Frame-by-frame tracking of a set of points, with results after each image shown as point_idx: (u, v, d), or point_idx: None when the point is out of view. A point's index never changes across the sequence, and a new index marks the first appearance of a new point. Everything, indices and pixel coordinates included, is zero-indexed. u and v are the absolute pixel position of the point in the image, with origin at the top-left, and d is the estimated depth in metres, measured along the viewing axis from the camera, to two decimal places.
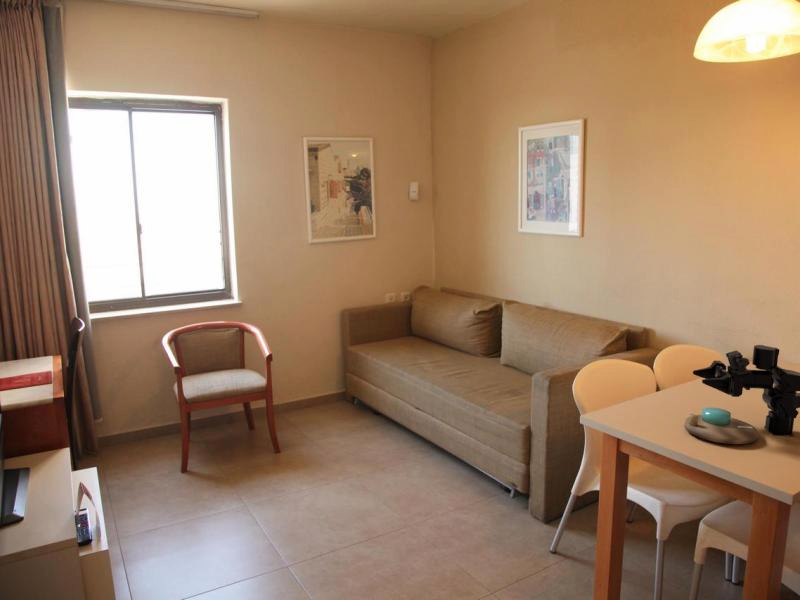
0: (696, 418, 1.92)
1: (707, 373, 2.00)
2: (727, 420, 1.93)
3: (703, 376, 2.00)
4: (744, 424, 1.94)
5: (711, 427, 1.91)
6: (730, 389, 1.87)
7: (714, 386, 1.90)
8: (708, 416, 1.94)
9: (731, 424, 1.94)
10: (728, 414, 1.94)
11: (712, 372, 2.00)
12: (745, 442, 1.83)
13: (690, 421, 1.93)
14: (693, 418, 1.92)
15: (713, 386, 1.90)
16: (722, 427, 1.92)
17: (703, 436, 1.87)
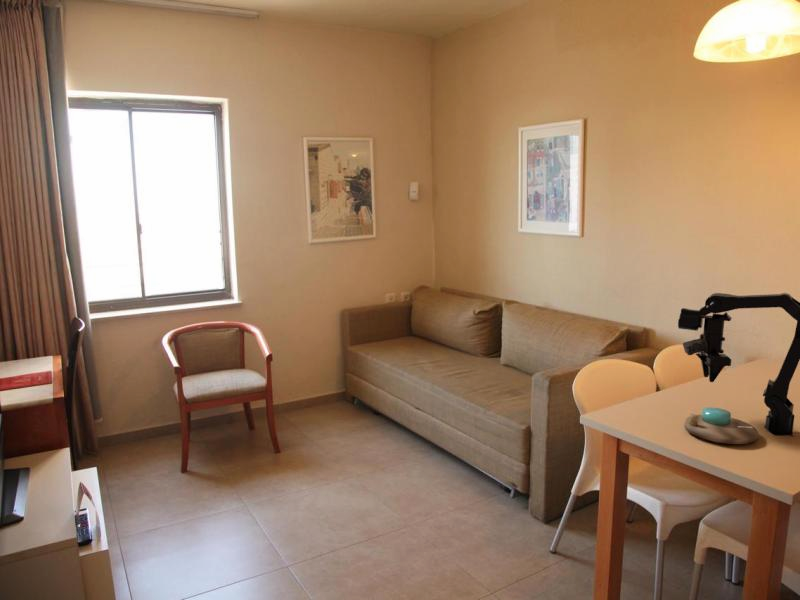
0: (696, 418, 1.92)
1: (707, 363, 2.06)
2: (727, 420, 1.93)
3: None
4: (744, 424, 1.94)
5: (711, 427, 1.91)
6: None
7: (717, 373, 2.00)
8: (708, 416, 1.94)
9: (731, 424, 1.94)
10: (728, 414, 1.94)
11: (706, 359, 2.06)
12: (745, 442, 1.83)
13: (690, 421, 1.93)
14: (693, 418, 1.92)
15: (717, 374, 2.00)
16: (722, 427, 1.92)
17: (703, 436, 1.87)
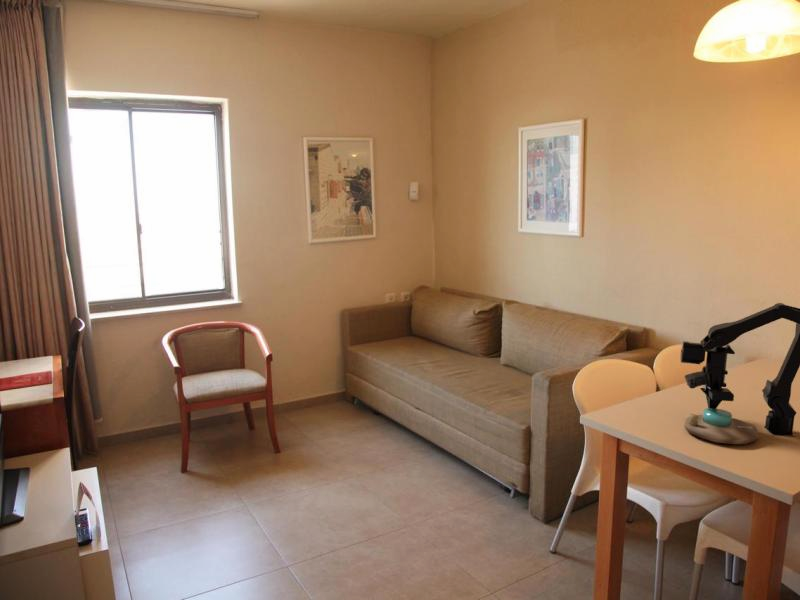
0: (696, 418, 1.92)
1: None
2: (728, 421, 1.92)
3: None
4: (744, 424, 1.94)
5: (711, 427, 1.91)
6: None
7: (717, 404, 1.99)
8: (709, 417, 1.94)
9: (731, 424, 1.94)
10: (729, 415, 1.93)
11: None
12: (745, 442, 1.83)
13: (690, 421, 1.93)
14: (693, 418, 1.92)
15: (716, 405, 1.99)
16: (722, 427, 1.92)
17: (703, 436, 1.87)
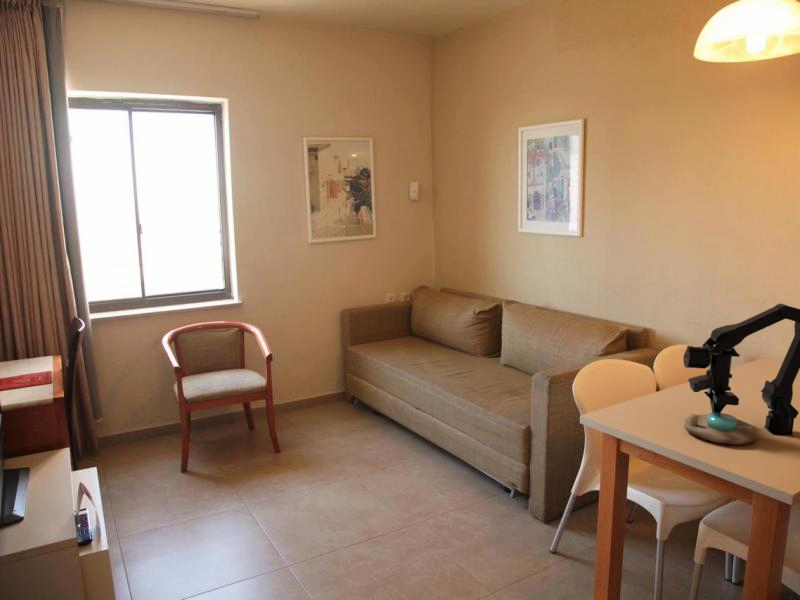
0: (696, 418, 1.92)
1: None
2: (733, 426, 1.89)
3: None
4: (744, 424, 1.94)
5: None
6: None
7: (721, 408, 1.95)
8: (714, 422, 1.90)
9: None
10: (734, 419, 1.90)
11: None
12: (745, 442, 1.83)
13: (690, 421, 1.93)
14: (693, 418, 1.92)
15: (721, 409, 1.95)
16: None
17: (703, 436, 1.87)
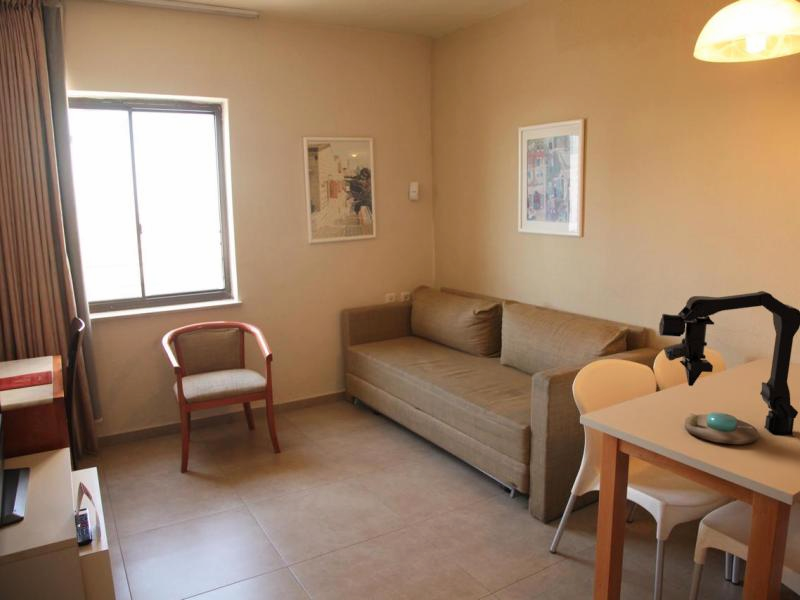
0: (696, 418, 1.92)
1: None
2: (733, 426, 1.88)
3: None
4: (744, 424, 1.94)
5: None
6: None
7: (696, 377, 1.96)
8: (714, 422, 1.90)
9: None
10: (734, 420, 1.89)
11: None
12: (745, 442, 1.83)
13: (690, 421, 1.93)
14: (693, 418, 1.92)
15: (696, 377, 1.96)
16: None
17: (703, 436, 1.87)
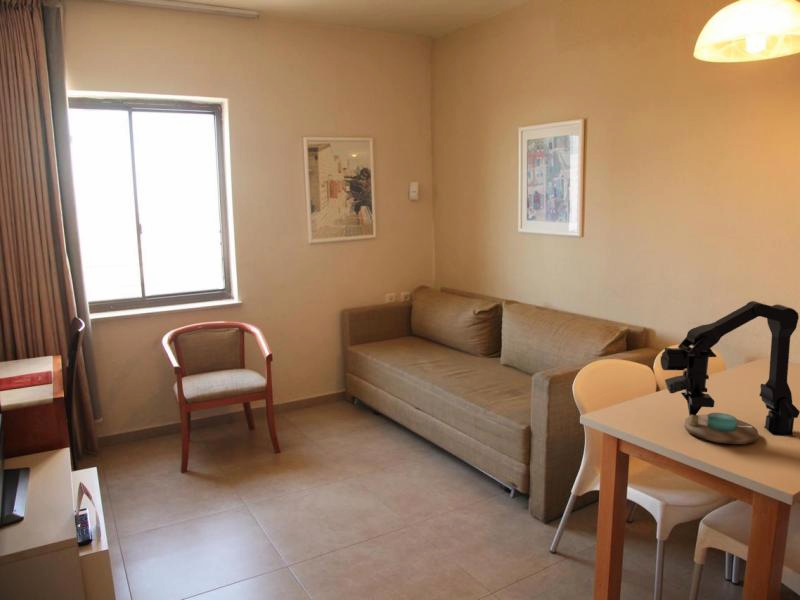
0: (697, 419, 1.92)
1: None
2: (734, 426, 1.89)
3: None
4: (743, 423, 1.94)
5: None
6: None
7: (697, 409, 1.93)
8: (714, 422, 1.90)
9: None
10: (734, 419, 1.90)
11: None
12: (747, 442, 1.83)
13: (691, 422, 1.93)
14: (694, 419, 1.92)
15: (697, 410, 1.93)
16: None
17: (705, 437, 1.86)
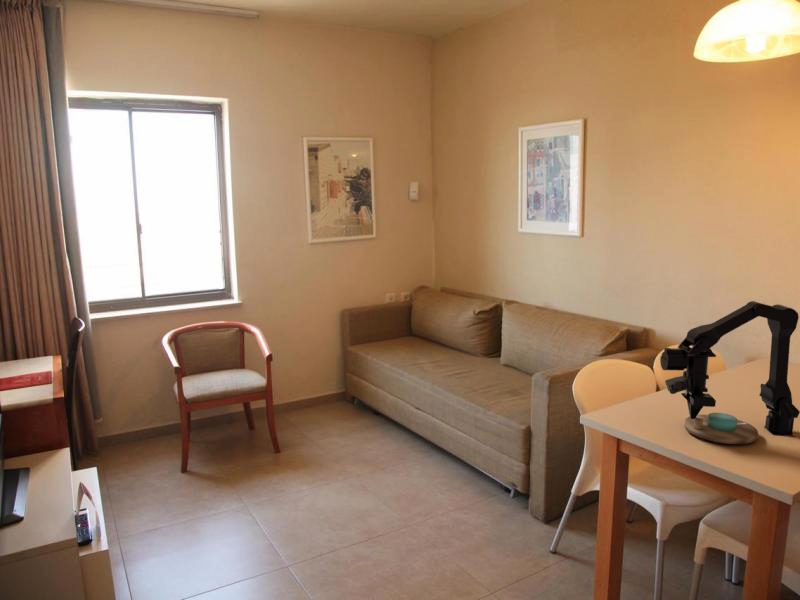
0: (702, 421, 1.89)
1: None
2: (736, 425, 1.89)
3: None
4: None
5: None
6: None
7: (698, 410, 1.93)
8: (719, 423, 1.89)
9: None
10: (735, 418, 1.91)
11: None
12: (754, 440, 1.85)
13: (696, 425, 1.90)
14: (700, 422, 1.89)
15: (698, 411, 1.93)
16: None
17: (717, 439, 1.84)
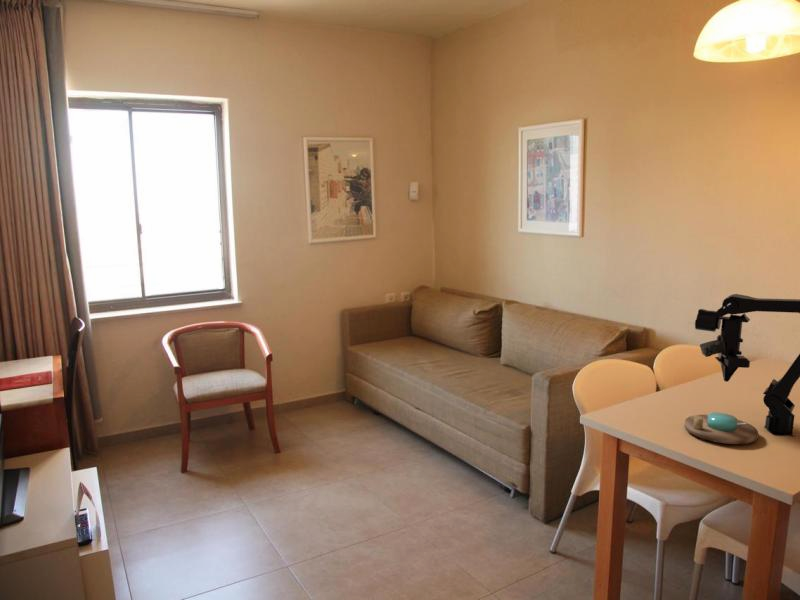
0: (702, 421, 1.89)
1: None
2: (736, 425, 1.89)
3: None
4: None
5: None
6: None
7: (732, 372, 2.01)
8: (719, 423, 1.89)
9: None
10: (735, 418, 1.91)
11: None
12: (754, 440, 1.85)
13: (696, 425, 1.90)
14: (700, 422, 1.89)
15: (732, 373, 2.01)
16: None
17: (717, 439, 1.84)
